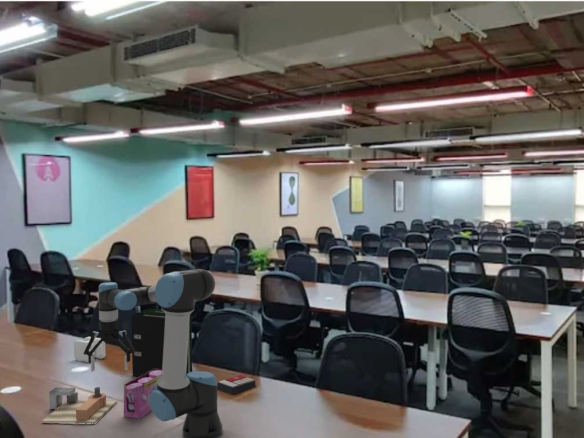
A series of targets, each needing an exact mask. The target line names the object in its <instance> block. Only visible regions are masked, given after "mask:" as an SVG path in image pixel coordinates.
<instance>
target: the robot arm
mask: <svg viewBox="0 0 584 438" xmlns="http://www.w3.org/2000/svg"><path fill="white" fill-rule="evenodd" d="M118 285H119V284H118V283H117V282H113V281H110V282H102V283H100V284H99V285H98V316H99V317H98V319H99V322H98V328H99V329H98V330H99V331H96V330H94V331H92V332H91V335H90V337H91V339H90V341H89V343H88V345H87V347H86V349H85V351H84V355H88V362H89V363H88V364H90V371H91V373H92V372H93V373H94V372H95V370H96V367H95V366H96V364H95V360H96V359H95V358H96V357H95V354H93V352H94V351H95V350H96V349H97V348H98V346H99V345H100V344H101V343H102V342H105V344H107V343H115V344H116V345H117V346H118V347H119V348H120V349H121V350H122V351H123V352H124V353H125V354H124V371H128V369H129V362H131V355H132V353H133V352H134V351H135V349H134V347H133V345H132V341H131V340H130V339H129V336H128V335H127V334H128V333H127V330H126V329H125V330H122V331H121V330H119V310H121V311H130V310H132V309H134V308H136V307H140V306H146V305H151V304H152V305H154V304H158V305H159V306H160V307H161V309H160V310H162V311H163V312H164V313H165V330H164V348H163V366H162V377H161V378H159V379H158V381H157V390H153V391H152V393H151V394H150V397H149V402H150V406H151V409H152V411H151V412H152V413H153V415H154V416H155V418H156V419H158V420H159V421H161V422H168V421H171V420H172V421H174V420H176V419H177V418H179V417H182V416H184V415H185V418H184V419H185V420H184V423H183V426H182V437H183V438H218V437H219V436H221V435H222V434H223V424H222V421H221V418H220V415H219V413H218V412H219V411H218V390H217V386H218V385H217V383H218V382H217V380H218V379H217V376H216V375H215V373H212V372H210V371H202V370H200V371H199V370H198V371H197V370H196V371H192V372H189V373H188V374H187V375H186V368H187V352H188V336H189V320H190V313H191V314H192V313H193V312H194V311H195V309H196V308H195V305H196V302H200V301H204V300H206V299H208V298H209V297H211V295H212V294H213V292H214V291H215V288H216V280H215V277H214V276H213V274H212V273H211V272H209V271H208V270H206V269H203V268H194V269H188V270H180V271H172V272H169V273H168V272H167V273H164V274H163V275H162V276H160V277H159V279H158V281H156V284H152V285H146V286H141V287H135V288H129V289H128V288H126V289H119V287H118ZM119 335H120V336H121V337H122V339H123V341H124V342H123V341H122V340H121V339H120V338H119ZM95 338H101V339H100V340H99V342H98V343H97V344H96V345H95V346H94V348H93V349H92V350H91V351H89V349H90V347H91V345H92V343H93V341H94V339H95ZM125 344H126V345H125Z"/></svg>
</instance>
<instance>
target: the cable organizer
mask: <svg viewBox="0 0 584 438" xmlns="http://www.w3.org/2000/svg"><path fill="white" fill-rule="evenodd" d="M90 339H91V336H87V337H84V340H80V339H77V340H74V342H73V357H74V359H75V360H76V361H77V362H81V363H82V362H85V363H88V364H90V363H89V362H88V355H84V351H85V349H86V347H87V345H88V343H89V341H90ZM100 339H101V338H100V337H95V339H94V341H93V343H92V345H91V347H90V349H89V351H91V350H92V349H93V348H94V346H95V345H96V344H97V343H98V342H99V340H100ZM93 354H95V358H96V359H99V360H101V359H103V358H105V357H106V343H105V342H102V343H101V344H100V345H99V346H98V348H97V349H96V350H95V351H94V352H93Z"/></svg>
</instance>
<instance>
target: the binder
mask: <svg viewBox="0 0 584 438" xmlns="http://www.w3.org/2000/svg"><path fill="white" fill-rule="evenodd" d="M130 316H131V344H132V345H133V347H134V349H135V351H134V352H133V353H131V360H132V369H131V370H132V371H131V372H132V377H133V378H138V377H139V376H141V375H143V374H145V373H147V372H149V371H151V370H153V369H155V368H156V369H162V366H163V348H164V330H165V313H164V312H163V311H162V309H152V308H148V309H144V310H142V312H135V313H132V314H131V315H130ZM192 327H193V326H192V313H190V320H189V336H188V352H187V368H186V375H187V374H188V373H189V372H193V334H192V333H193V332H192V329H193V328H192Z"/></svg>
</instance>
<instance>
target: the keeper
mask: <svg viewBox="0 0 584 438" xmlns="http://www.w3.org/2000/svg"><path fill="white" fill-rule="evenodd" d="M48 396H49V410H50V409H57V408H58V407H60V406H61V405H63V396H66V402H67V403H76V402H78V400H79V397H78V396H79V394H78V392H77V391H76V387H54V388H53V389H51V390H49V395H48Z"/></svg>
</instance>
